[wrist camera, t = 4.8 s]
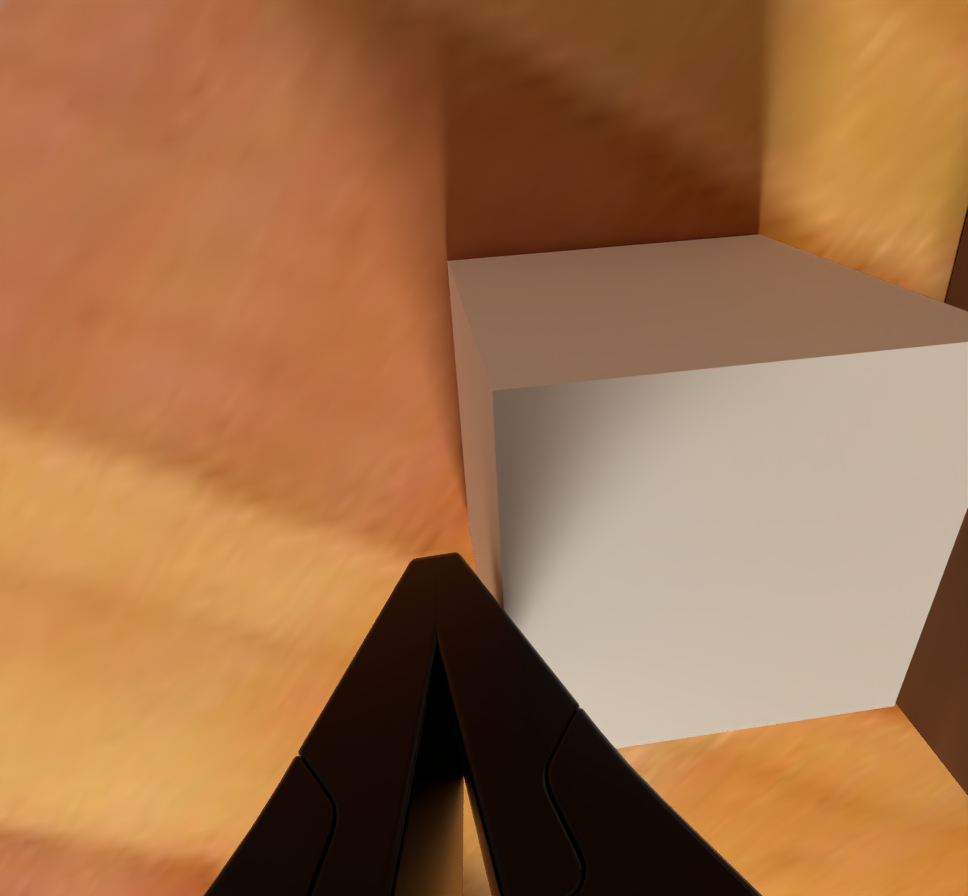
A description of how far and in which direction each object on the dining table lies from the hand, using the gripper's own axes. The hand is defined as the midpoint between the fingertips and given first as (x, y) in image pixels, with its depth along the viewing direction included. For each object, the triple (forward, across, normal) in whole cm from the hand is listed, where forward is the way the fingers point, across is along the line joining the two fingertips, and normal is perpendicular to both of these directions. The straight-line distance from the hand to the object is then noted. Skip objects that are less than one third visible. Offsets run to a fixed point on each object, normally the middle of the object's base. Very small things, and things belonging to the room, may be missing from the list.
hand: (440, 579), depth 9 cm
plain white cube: (+5, -4, 0) cm, 6 cm away
